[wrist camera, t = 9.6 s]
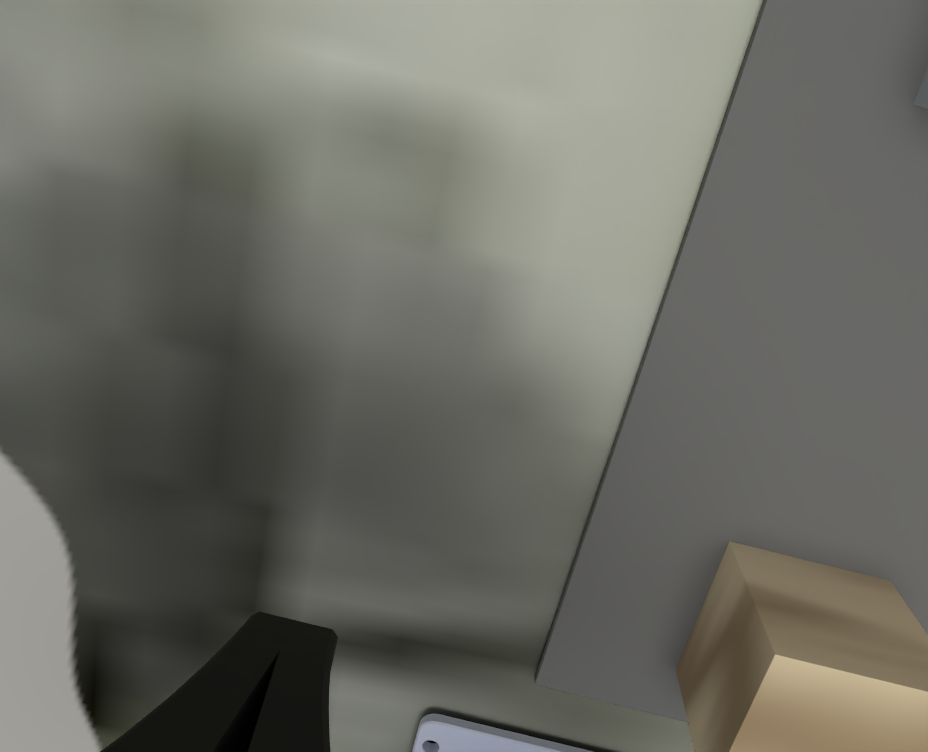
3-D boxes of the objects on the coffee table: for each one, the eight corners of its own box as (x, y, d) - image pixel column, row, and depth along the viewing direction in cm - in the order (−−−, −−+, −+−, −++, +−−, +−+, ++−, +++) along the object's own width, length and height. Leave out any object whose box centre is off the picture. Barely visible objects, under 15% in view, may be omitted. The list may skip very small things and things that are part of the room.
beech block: (825, 706, 24) (887, 844, 20) (676, 669, 24) (706, 800, 20) (890, 581, 22) (973, 703, 18) (729, 541, 22) (775, 654, 18)
